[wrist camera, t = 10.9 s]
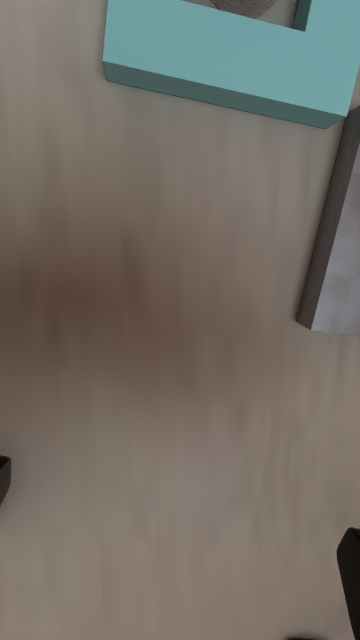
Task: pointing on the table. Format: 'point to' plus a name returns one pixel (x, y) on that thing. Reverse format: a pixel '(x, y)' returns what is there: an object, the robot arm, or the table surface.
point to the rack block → (239, 56)
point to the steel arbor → (244, 7)
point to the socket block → (337, 246)
